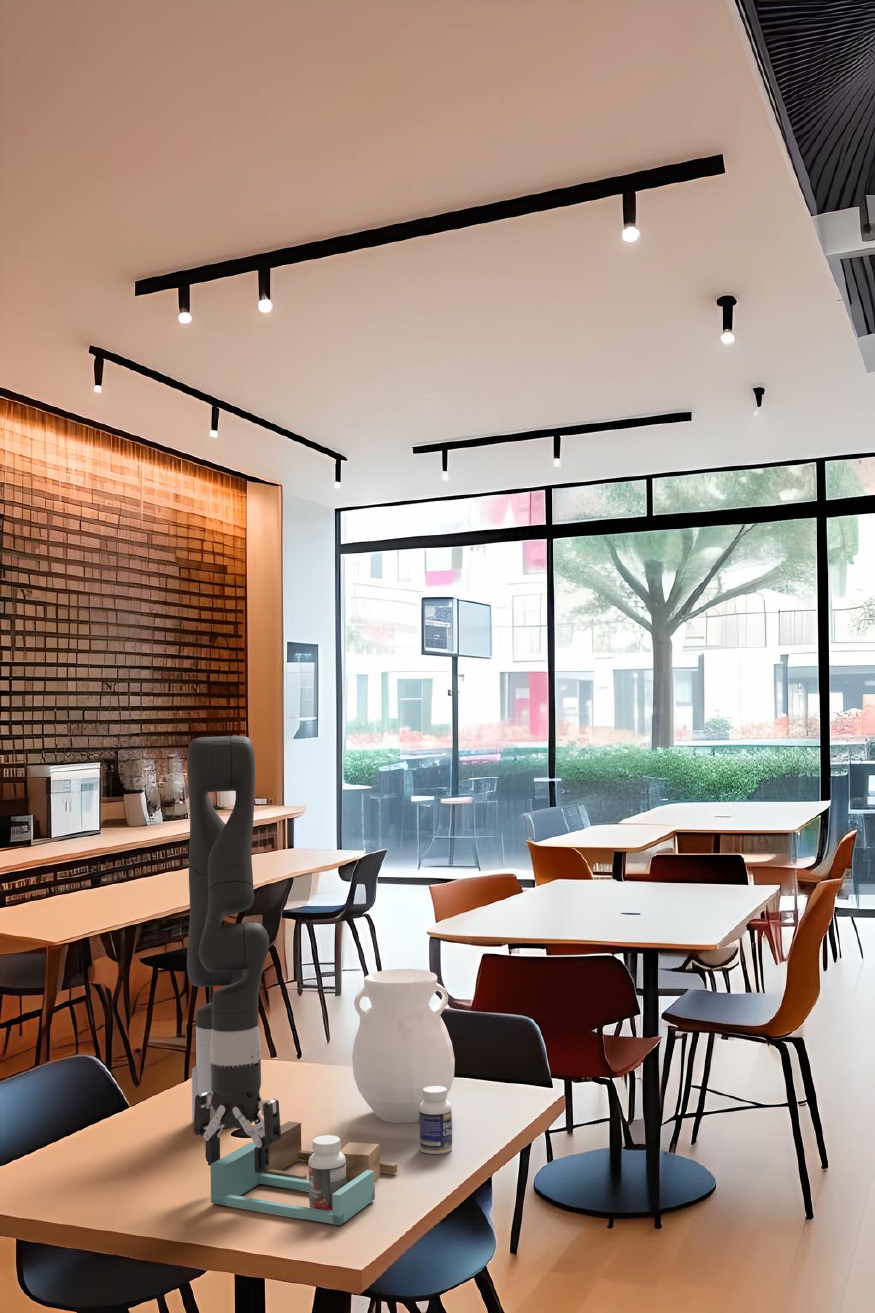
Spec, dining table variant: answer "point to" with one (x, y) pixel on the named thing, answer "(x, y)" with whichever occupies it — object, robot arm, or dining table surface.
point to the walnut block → (361, 1159)
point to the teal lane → (239, 1177)
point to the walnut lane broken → (298, 1153)
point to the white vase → (401, 1043)
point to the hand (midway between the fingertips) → (237, 1168)
